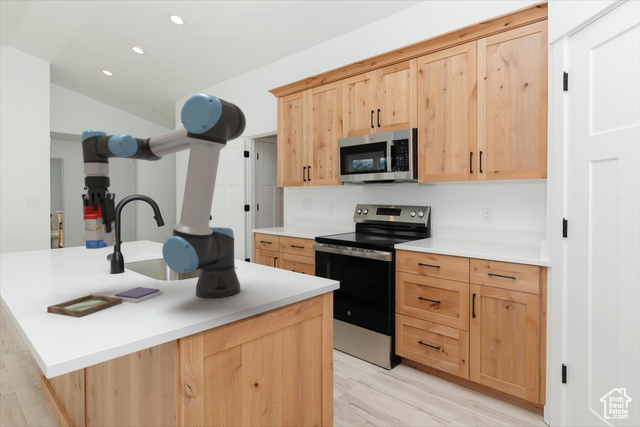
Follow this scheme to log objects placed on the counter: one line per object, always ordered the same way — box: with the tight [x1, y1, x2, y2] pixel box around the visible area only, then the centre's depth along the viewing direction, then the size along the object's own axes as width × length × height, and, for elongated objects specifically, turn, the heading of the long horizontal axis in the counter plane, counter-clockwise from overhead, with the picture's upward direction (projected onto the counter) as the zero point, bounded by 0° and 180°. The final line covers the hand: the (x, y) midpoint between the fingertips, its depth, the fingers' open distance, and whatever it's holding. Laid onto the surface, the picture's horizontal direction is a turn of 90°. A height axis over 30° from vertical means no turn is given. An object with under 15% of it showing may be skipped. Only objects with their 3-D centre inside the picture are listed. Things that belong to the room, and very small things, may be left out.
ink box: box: [83, 206, 117, 250], centre depth 127 cm, size 8×5×15 cm, turn 168°
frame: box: [46, 293, 123, 318], centre depth 112 cm, size 14×14×2 cm
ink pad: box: [111, 286, 164, 304], centre depth 123 cm, size 11×11×2 cm
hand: (101, 241), depth 127 cm, fingers closed on ink box, 5 cm apart
